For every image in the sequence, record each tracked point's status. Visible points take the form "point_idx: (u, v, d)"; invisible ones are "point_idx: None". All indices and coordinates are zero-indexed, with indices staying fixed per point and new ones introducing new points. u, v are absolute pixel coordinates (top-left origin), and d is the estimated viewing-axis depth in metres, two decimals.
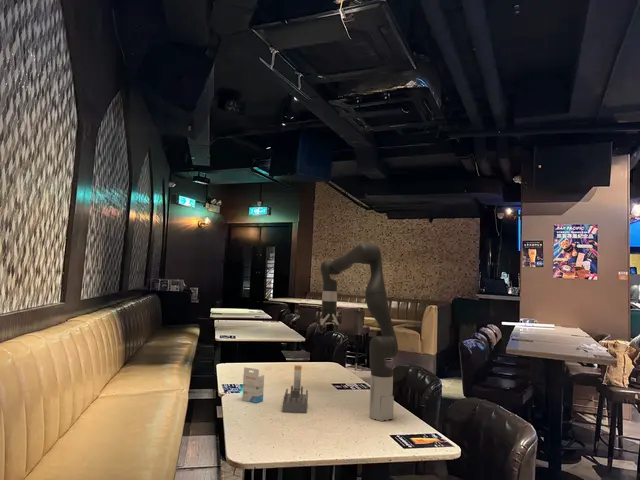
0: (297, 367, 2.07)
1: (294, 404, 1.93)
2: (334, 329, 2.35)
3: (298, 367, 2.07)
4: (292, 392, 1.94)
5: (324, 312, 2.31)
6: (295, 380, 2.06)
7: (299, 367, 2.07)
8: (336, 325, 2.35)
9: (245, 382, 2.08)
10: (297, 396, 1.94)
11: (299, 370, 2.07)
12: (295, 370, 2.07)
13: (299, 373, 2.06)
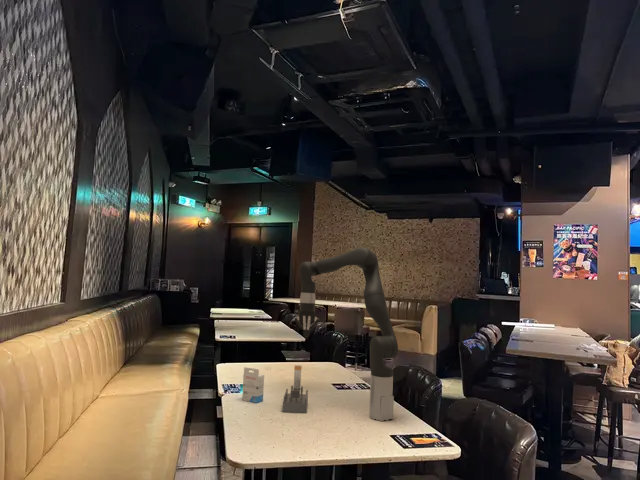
0: (297, 367, 2.07)
1: (294, 404, 1.93)
2: None
3: (298, 367, 2.07)
4: (292, 392, 1.94)
5: None
6: (295, 380, 2.06)
7: (299, 367, 2.07)
8: None
9: (245, 382, 2.08)
10: (297, 396, 1.94)
11: (299, 370, 2.07)
12: (295, 370, 2.07)
13: (299, 373, 2.06)
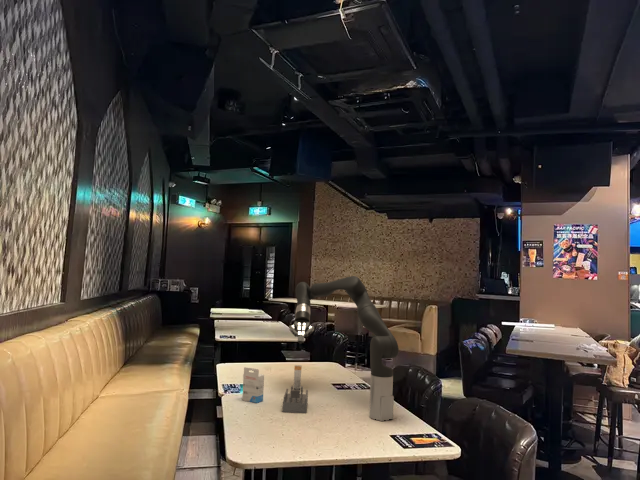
0: (297, 367, 2.07)
1: (294, 404, 1.93)
2: None
3: (298, 367, 2.07)
4: (292, 392, 1.94)
5: None
6: (295, 380, 2.06)
7: (299, 367, 2.07)
8: None
9: (245, 382, 2.08)
10: (297, 396, 1.94)
11: (299, 370, 2.07)
12: (295, 370, 2.07)
13: (299, 373, 2.06)
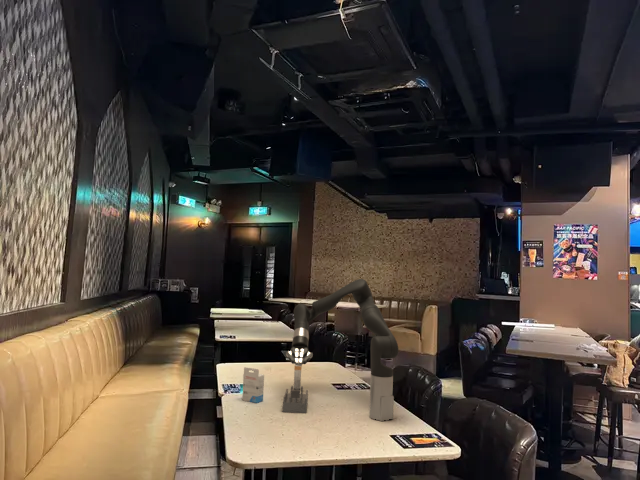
0: (297, 367, 2.07)
1: (294, 404, 1.93)
2: None
3: (298, 367, 2.07)
4: (292, 392, 1.94)
5: None
6: (295, 380, 2.06)
7: (299, 367, 2.07)
8: None
9: (245, 382, 2.08)
10: (297, 396, 1.94)
11: (299, 370, 2.07)
12: (295, 370, 2.07)
13: (299, 373, 2.06)
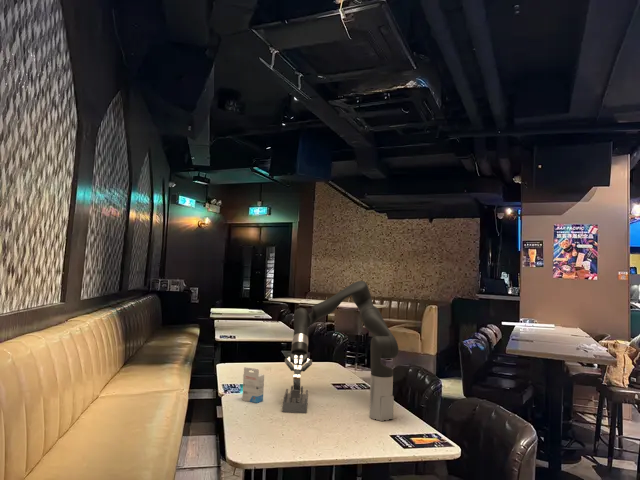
0: (296, 378, 2.00)
1: (294, 404, 1.93)
2: None
3: (297, 378, 2.00)
4: (292, 392, 1.94)
5: None
6: (295, 385, 2.04)
7: (298, 378, 2.00)
8: None
9: (245, 382, 2.08)
10: (297, 396, 1.94)
11: (298, 379, 2.01)
12: (294, 379, 2.01)
13: (298, 381, 2.02)
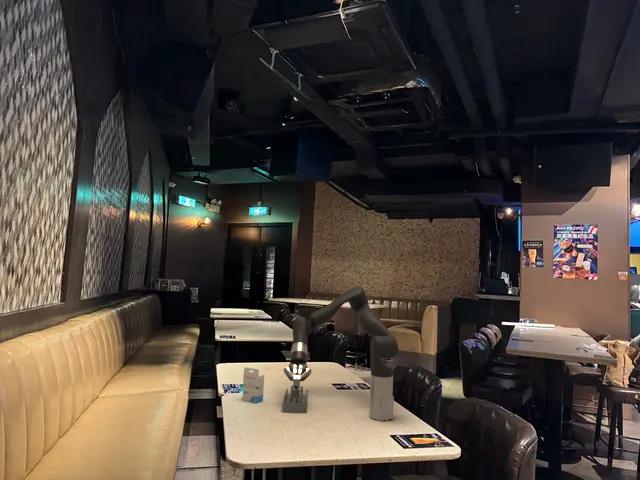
0: None
1: (294, 404, 1.93)
2: None
3: None
4: (292, 392, 1.94)
5: None
6: None
7: None
8: None
9: (245, 382, 2.08)
10: (297, 396, 1.94)
11: None
12: None
13: None
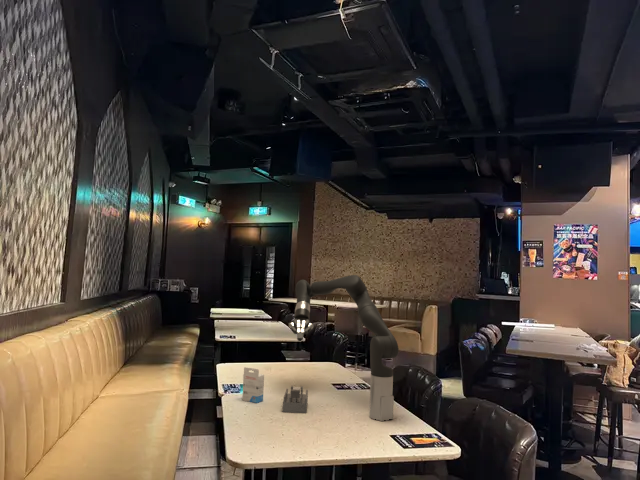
0: None
1: (294, 404, 1.93)
2: None
3: None
4: (292, 392, 1.94)
5: None
6: None
7: None
8: None
9: (245, 382, 2.08)
10: (297, 396, 1.94)
11: None
12: None
13: None
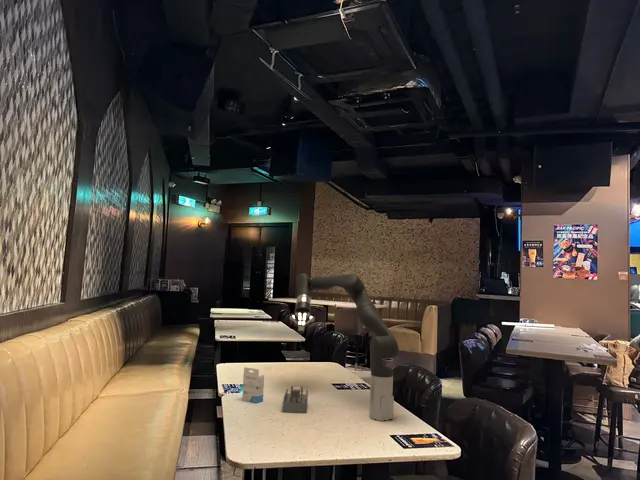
0: None
1: (294, 404, 1.93)
2: None
3: None
4: (292, 392, 1.94)
5: None
6: None
7: None
8: None
9: (245, 382, 2.08)
10: (297, 396, 1.94)
11: None
12: None
13: None
